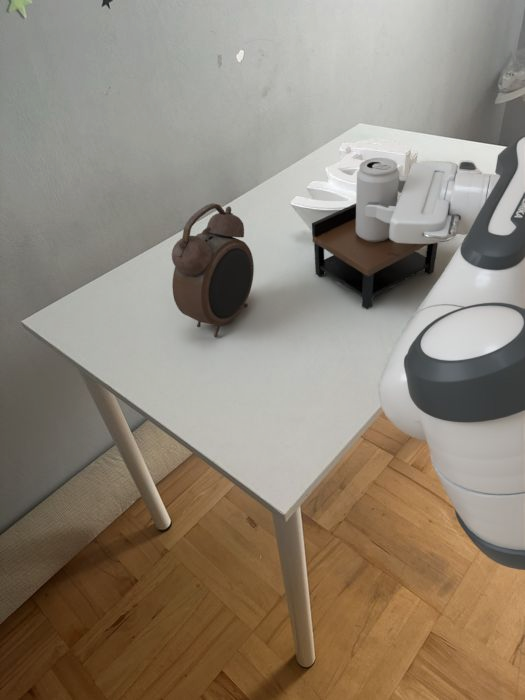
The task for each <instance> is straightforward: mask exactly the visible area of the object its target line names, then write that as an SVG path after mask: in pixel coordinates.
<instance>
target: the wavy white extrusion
mask: <svg viewBox="0 0 525 700" xmlns="http://www.w3.org/2000/svg"><path fill="white" fill-rule="evenodd" d="M338 149H339V156H340V160H338V161H337V163H335V164H331V165H328V166H326V167H324V170H325V173H326V176H327V177H326V178H327V181H321V180H313V181H311V182H310V183H309V184H307V186H306V190H307V192H308V194H309V195H310V197H311V198H308V197H305V196H304V197H303V196H300V195H297V196H295V197H294V198H293V199H292V200H291V201H290V202H289V205H290V206H291V207H292V209H293V210H294V211H295V213H296V214H297V215H298V216H299V218H300V219H301V220H302V221H303V222H304V224H305V225H306V227H308V229H309V230H310V231H311V232H312V223H314V222H316V221H318V220H320V219H322V218H325V217H327V216H329V215H331V214H333V213H336V212H338V211H340V210H342V209H344V208H347V207H349V206H351V205H353V204H355V203H356V193H357V172H358V171H359V169H360V164H361V163H362V162H363V161H365V160H368V159H372V158H388V159H392V160H394V161H395V162H396V163H397V169H398V170H399V177H408V174H409V172H410V169H411V166H412V165H413V164H415V163H418V156H419V152H417V151H416V149H414V148H412V147H411V146H408V145H406V144H404V143H401V142H397V141H393V140H389V139H382V138H370V139H368V138H367V139H364V140H359V141H358V142H357V141H356V142H352V141H343V142H342V144H341V145H340V146H339V148H338ZM400 194H401V193H399V192H398V196H397V202H398V200H399V197H400Z"/></svg>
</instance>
